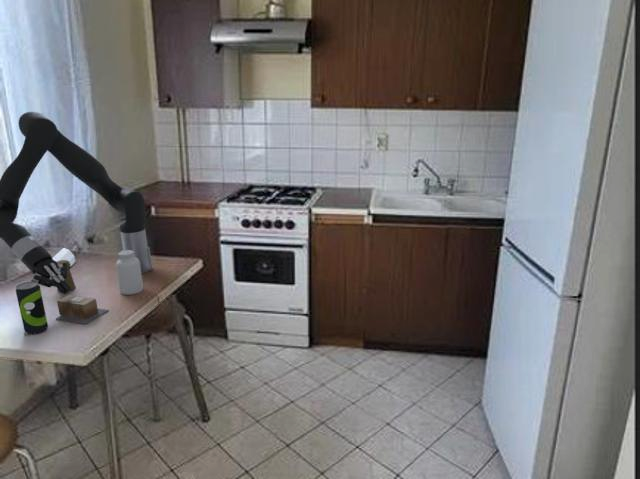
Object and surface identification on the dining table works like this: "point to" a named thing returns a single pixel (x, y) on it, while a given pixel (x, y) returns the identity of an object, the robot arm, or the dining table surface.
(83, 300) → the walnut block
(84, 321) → the rubber mat
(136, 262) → the pill bottle
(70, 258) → the crystal
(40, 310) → the beverage can
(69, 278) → the cork
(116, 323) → the dining table surface
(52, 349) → the dining table surface
